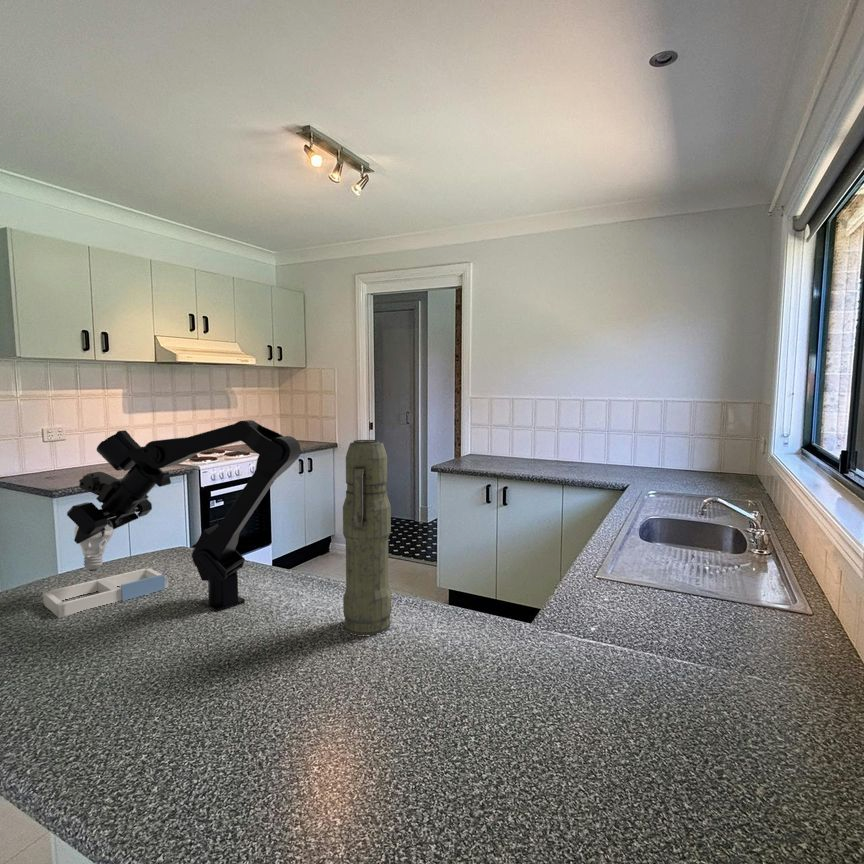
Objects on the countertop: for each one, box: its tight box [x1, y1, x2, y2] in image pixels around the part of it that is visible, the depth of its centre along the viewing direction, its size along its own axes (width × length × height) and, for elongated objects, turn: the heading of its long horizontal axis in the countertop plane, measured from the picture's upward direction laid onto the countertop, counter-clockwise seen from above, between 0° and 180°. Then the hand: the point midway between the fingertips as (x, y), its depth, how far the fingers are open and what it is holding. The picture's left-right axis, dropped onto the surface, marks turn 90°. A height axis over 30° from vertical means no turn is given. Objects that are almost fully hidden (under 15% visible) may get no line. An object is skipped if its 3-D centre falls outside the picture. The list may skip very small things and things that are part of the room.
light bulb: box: [74, 519, 114, 572], centre depth 109 cm, size 7×7×12 cm
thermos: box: [342, 439, 392, 636], centre depth 96 cm, size 9×12×35 cm
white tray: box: [42, 567, 169, 619], centre depth 111 cm, size 11×21×4 cm, turn 140°
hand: (88, 537), depth 109 cm, fingers closed on light bulb, 6 cm apart
